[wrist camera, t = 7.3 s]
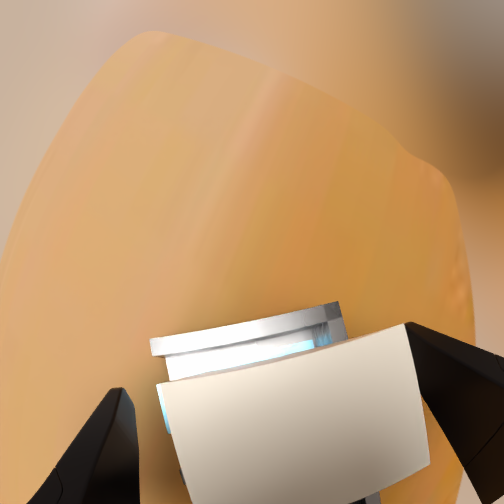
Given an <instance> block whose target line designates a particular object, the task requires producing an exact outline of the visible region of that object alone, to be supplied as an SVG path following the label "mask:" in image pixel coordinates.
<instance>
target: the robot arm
mask: <svg viewBox="0 0 504 504" xmlns="http://www.w3.org/2000/svg"><path fill="white" fill-rule="evenodd" d="M404 326H405V329H406V333H407V337H408V341H409V345H410V349H411V353H412V357H413V362H414V366H415V371H416V375H417V380H418V385H419V390H420V394H421V396H422V397H423V399H424V400H425V402H426V404H427V405H428V407H429V409H430V410H431V412H432V414H433V415H434V417H435V419H436V420H437V422H438V424H439V425H440V427H441V429H442V430H443V432H444V434H445V435H446V437H447V439H448V441H449V442H450V444H451V446H452V448H453V450H454V451H455V453H456V455H457V457H458V458H459V460H460V462H461V464H462V466H463V467H464V470H465V472H466V473H467V475H468V477H469V479H470V481H471V483H472V485H473V487H474V489H475V491H476V492H477V495H478V496H479V499H480V501H481V503H482V504H492V503H493V502H494V501H496V500H497V499H499V498H500V497H501V496H503V495H504V358H503V357H501V356H499V355H494V354H493V353H491V352H488V351H485V350H483V349H480V348H478V347H475V346H473V345H470V344H467V343H465V342H462V341H460V340H457V339H455V338H452V337H449V336H447V335H444V334H442V333H439V332H437V331H434V330H432V329H429V328H426V327H424V326H421V325H419V324H416V323H414V322H407V323H405V324H404ZM55 467H56V468H54V469H53V470H52V472H51V473H50V475H49V476H48V477H47V479H46V480H45V482H44V483H43V484H42V486H41V487H40V488H39V490H38V491H37V492H36V493H35V494H34V496H33V497H32V498H31V499H30V500H29V502H28V503H27V504H140V489H139V447H138V438H137V428H136V417H135V408H134V404H133V402H132V401H131V399H130V397H129V395H128V394H127V392H126V390H125V389H124V388H122V387H120V388H111V389H110V390H109V391H108V393H107V394H106V395H105V397H104V398H103V400H102V401H101V402H100V404H99V405H98V406H97V408H96V409H95V411H94V412H93V413H92V415H91V416H90V418H89V419H88V420H87V422H86V423H85V425H84V426H83V427H82V429H81V430H80V432H79V433H78V434H77V436H76V437H75V439H74V440H73V441H72V443H71V444H70V446H69V447H68V449H67V450H66V451H65V453H64V454H63V456H62V457H61V459H60V460H59V462H58V463H57V464H56V466H55Z"/></svg>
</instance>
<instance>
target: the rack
mask: <svg viewBox="0 0 504 504" xmlns="http://www.w3.org/2000/svg"><path fill="white" fill-rule="evenodd" d="M149 340H150V346H151V351H152V356H154V357H161V358H166V363H167V368H168V373H169V378H170V381H172V380H176V379H180V378H184V377H187V376H191V375H195V374H199V373H202V372H206V371H212V370H217V369H223V368H228V367H233V366H238V365H243V364H247V363H252V362H257V361H261V360H266V359H270V358H274V357H278V356H282V355H287V354H291V353H295V352H299V351H303V350H308V349H312V348H316V347H321V346H325V345H329V344H333V343H337V342H341V341H345V340H348V336H347V332H346V329H345V325H344V321H343V317H342V314H341V310H340V306H339V303H338V301H336V302H332V303H328V304H324V305H320V306H316V307H312V308H308V309H304V310H299V311H295V312H291V313H286V314H282V315H277V316H273V317H268V318H263V319H259V320H254V321H249V322H244V323H239V324H234V325H229V326H224V327H218V328H213V329H208V330H202V331H196V332H190V333H185V334H179V335H172V336H166V337H160V338H153V339H149ZM157 389H158V394H159V399H160V403H161V408H162V412H163V416H164V420H165V424H166V428H167V432H168V434H170V433H171V430H170V426H169V422H168V418H167V414H166V410H165V406H164V401H163V397H162V392H161V388H160V384H158V385H157ZM179 471H180V474H181V477H182V480H183V483H184V485H185V484H186V482H185V479H184V476H183V473H182V470H181V468H180V470H179ZM350 504H381V502H380V495H379V491H378V492H376V493H374V494H371V495H369V496H367V497H364V498H362V499H360V500H357V501H355V502H352V503H350Z"/></svg>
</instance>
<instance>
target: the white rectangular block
mask: <svg viewBox="0 0 504 504" xmlns="http://www.w3.org/2000/svg"><path fill="white" fill-rule="evenodd" d="M160 388H161V392H162V397H163V401H164V406H165V410H166V414H167V418H168V422H169V426H170V430H171V434H172V438H173V442H174V445H175V449H176V453H177V456H178V459H179V463H180V466H181V470H182V473H183V476H184V479H185V482H186V485H187V488H188V491H189V494H190V497H191V500H192V503H193V504H350V503H352V502H355V501H357V500H360V499H362V498H364V497H367V496H369V495H371V494H374V493H376V492H378V491H380V490H382V489H384V488H387V487H389V486H391V485H393V484H395V483H397V482H399V481H401V480H403V479H405V478H406V477H408V476H410V475H412V474H414V473H416V472H417V471H419V470H421V469H423V468H424V467H426V466H428V465H429V464H430V456H429V447H428V439H427V432H426V425H425V419H424V413H423V407H422V401H421V396H420V390H419V385H418V380H417V375H416V371H415V366H414V362H413V357H412V353H411V349H410V345H409V341H408V337H407V333H406V329H405V326H404V323H403V324H400V325H397V326H393V327H390V328H387V329H384V330H380V331H377V332H373V333H370V334H367V335H363V336H359V337H356V338H352V339H348V340H345V341H341V342H337V343H333V344H329V345H325V346H321V347H316V348H312V349H308V350H303V351H299V352H295V353H291V354H287V355H282V356H278V357H274V358H270V359H266V360H261V361H257V362H252V363H247V364H243V365H238V366H233V367H228V368H223V369H217V370H212V371H206V372H202V373H199V374H195V375H191V376H187V377H184V378H180V379H176V380H172V381H168V382H164V383H160Z"/></svg>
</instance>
